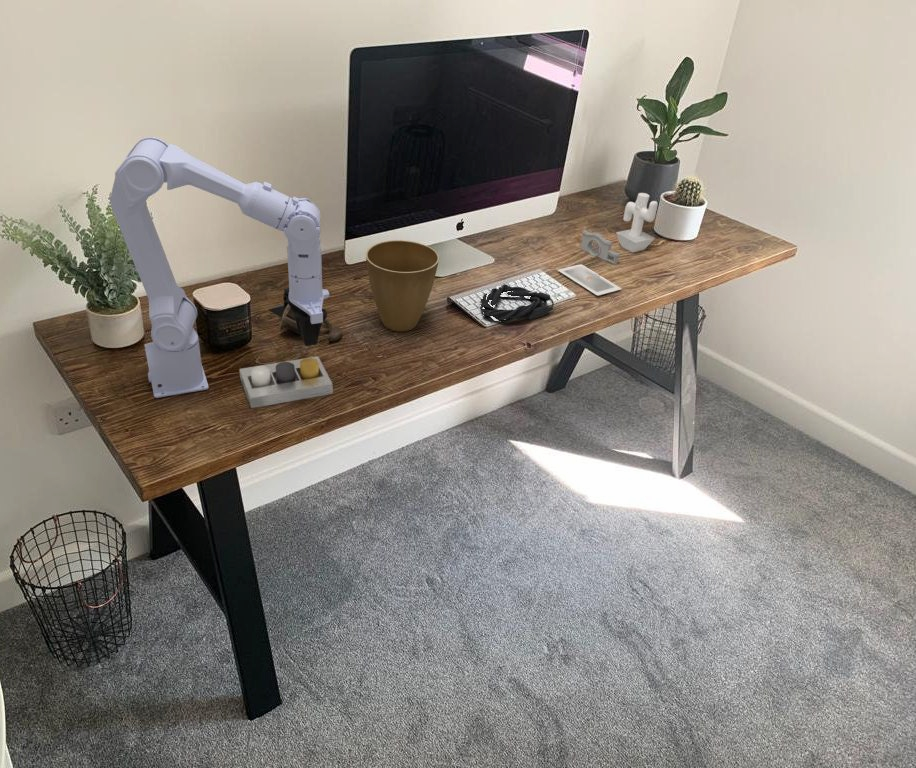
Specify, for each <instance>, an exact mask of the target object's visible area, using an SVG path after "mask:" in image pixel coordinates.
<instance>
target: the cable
mask: <svg viewBox="0 0 916 768" xmlns="http://www.w3.org/2000/svg"><path fill="white" fill-rule="evenodd" d="M507 291H511V292H508V293H507V294H508V295H511V296H520V297H519V298H523V297H524V296H531V297H530V299H531V303H530V304H528V305H520V306H517V307H516V308H515V309H514V308H513V309H496V307H495V308H493V307H491V306H490V305H489V304H488V302H489V300H492V301H491V305H492V306H493V305H495V304H496V303H497V304H498V302H499V299H500V298H499V297H500V295H501V293H503V292H507ZM512 291H513V292H512ZM489 293H490V294H489V295H488V297H487V300H486V295H487V293H485V294H484V293H483V295H482V298H483V299H481V298H480V300H481V301H480V304H479V306H480V305H481V306H480V307H481V308H482V307H484V308H485V309H482V311H483V312H484V314H483V312H482V311H481V312H482V316H483V315H484V316H485V315H487V316H485V317H489V316H493V317H495V318H496V319H498V320H499V321H501V322H500V323H508V322H511V321H515V320H517V321H518V320H524V319H525V320H526V319H528V320H531V321H532V320H534V319H535V320H536V319H538V318H541V317H544V316H546V315H548V314H549V313H550V312H551V311H553V309H554V305H555V302H554V299H552V297H551V296H550V294H548V293H545V292H540V291H539V292H538V291H537V290H536V291H533V290H532V291H531V290H529V289H526V288H524V287H522V286H521V287H519V286H509V285H508V284H507V283H503V284H502V285H501V286H499V287H498V288H496V287H493V288H491V290H490V292H489ZM548 301H550V302H551V305H550V306H548ZM481 303H482V304H481ZM497 304H496V305H497Z"/></svg>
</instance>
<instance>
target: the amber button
mask: <svg viewBox="0 0 916 768" xmlns="http://www.w3.org/2000/svg"><path fill="white" fill-rule="evenodd" d="M304 358H305V357H304ZM304 358H302V359H303V360H301V361H300V379H301V380H305V379H311V378H317V377H319V365H318V361H317V360H316V359H314V358H310V357H306V358H305V359H304Z"/></svg>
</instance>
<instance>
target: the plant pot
mask: <svg viewBox="0 0 916 768" xmlns="http://www.w3.org/2000/svg"><path fill="white" fill-rule="evenodd" d="M365 260H366V261H365V262H366V266H367V267H366V268H367V273H368V278H369V285H370V288H371V293H372V296H373V299H374V303H375V306H376V310H377V313H378V315H379V317H380V320H381V323H382V325H383V326H384V327H385V328H386V329H388V330H392V331H393V332H394V331H396V332H407V331H410V330H413V329H414V328H415V327H417V325H418V324H419V321H420V319H421V317H422V315H423V313H424V310H425V308H426V305H427V303H428V301H429V298H430V295H431V293H432V289H433V285H434V281H435V278H436V274H437V270H438V265H439V261H440V256H439V254H438V252H437V251H436V250H435V249H434V248H432V247H431V246H429V245H426V244H423V243H420V242H417V241H411V240H403V239H400V240H399V239H395V240H385V241H381V242H378V243H375V244H373V245H371V246H370V247H369V248H367V250H366V252H365Z"/></svg>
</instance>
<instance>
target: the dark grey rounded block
mask: <svg viewBox="0 0 916 768" xmlns="http://www.w3.org/2000/svg"><path fill="white" fill-rule="evenodd" d="M278 363H279V362H278ZM276 380H277V381H276V383H277V384H282V383H288V382H294V381H296V380H295V367H294V364H292V363H290V362H286V361H281V363H279V364H277V365H276Z"/></svg>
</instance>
